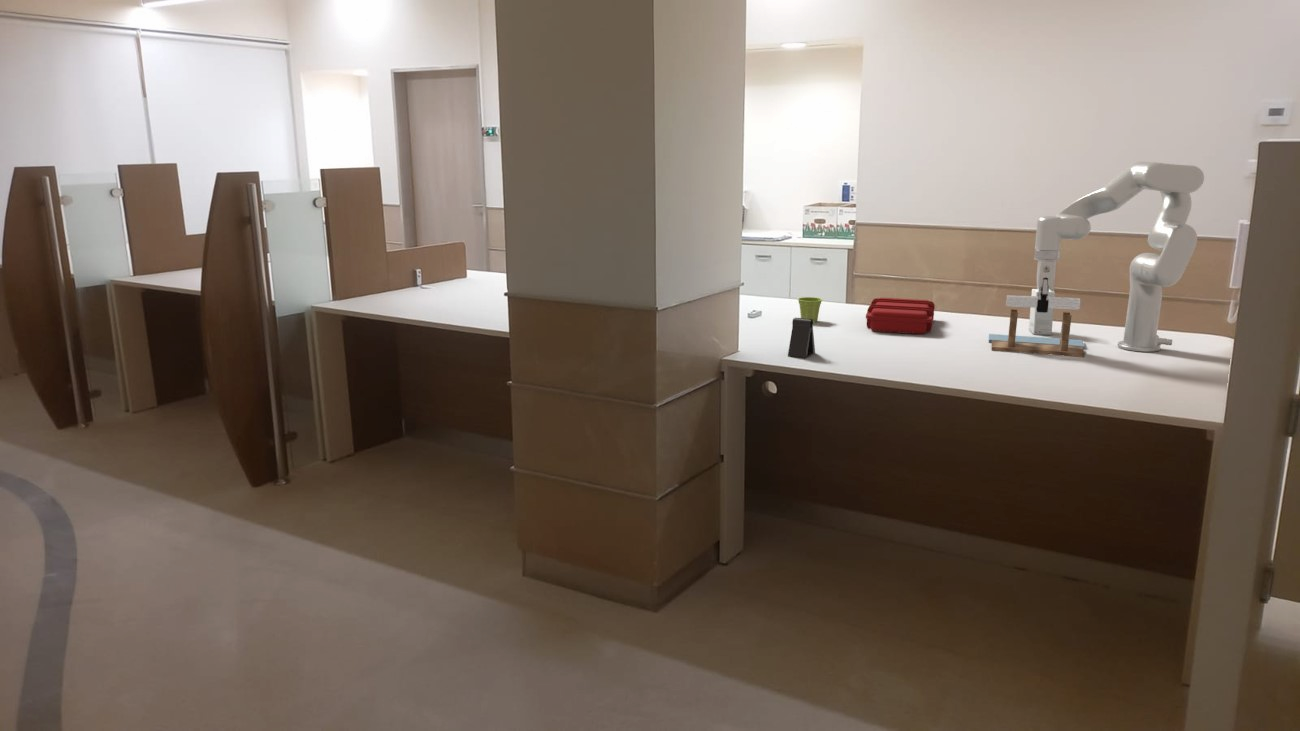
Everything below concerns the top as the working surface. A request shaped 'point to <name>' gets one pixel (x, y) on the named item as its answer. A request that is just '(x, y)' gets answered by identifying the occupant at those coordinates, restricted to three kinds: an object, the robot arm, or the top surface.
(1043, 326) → the skincare box
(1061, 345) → the cradle stand
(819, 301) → the plant pot
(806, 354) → the phone stand
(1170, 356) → the top surface
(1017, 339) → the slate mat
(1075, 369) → the top surface
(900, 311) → the first aid kit
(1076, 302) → the aluminium rail
